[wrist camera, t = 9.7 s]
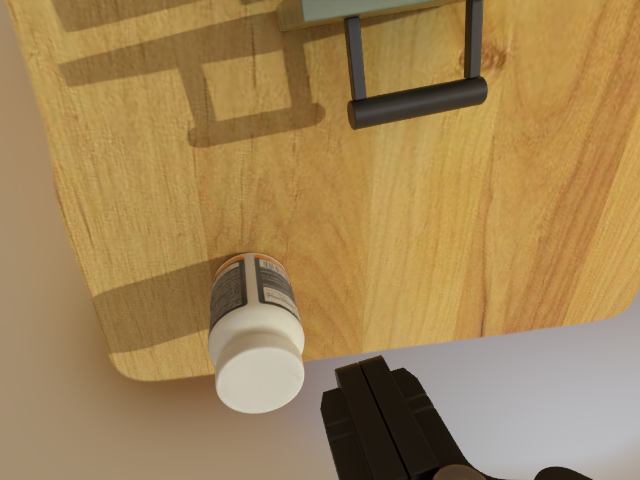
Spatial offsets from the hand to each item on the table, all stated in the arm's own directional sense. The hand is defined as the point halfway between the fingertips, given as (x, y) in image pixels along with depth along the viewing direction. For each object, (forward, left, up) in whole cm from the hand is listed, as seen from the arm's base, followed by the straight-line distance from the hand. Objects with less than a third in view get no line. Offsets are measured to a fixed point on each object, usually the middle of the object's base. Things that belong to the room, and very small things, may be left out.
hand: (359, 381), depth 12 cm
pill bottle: (-4, -6, -17) cm, 18 cm away
